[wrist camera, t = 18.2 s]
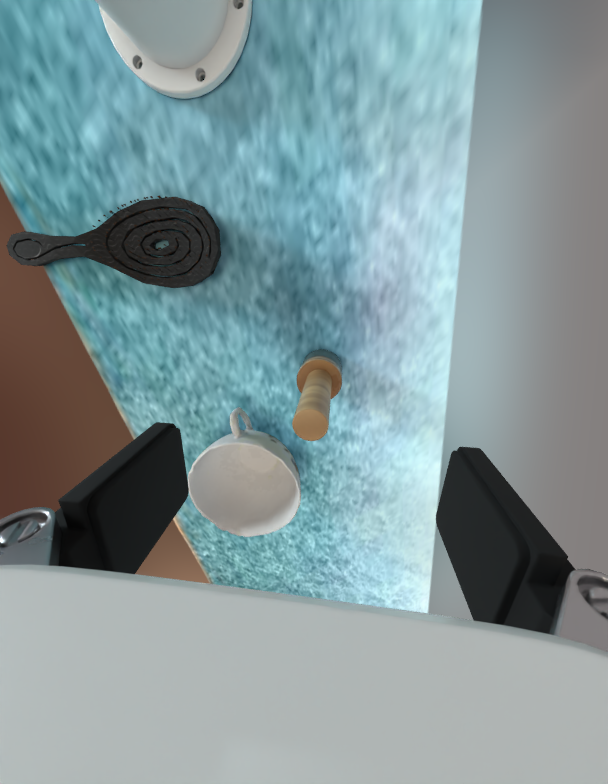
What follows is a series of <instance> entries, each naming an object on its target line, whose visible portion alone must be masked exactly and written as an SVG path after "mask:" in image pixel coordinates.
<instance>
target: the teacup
mask: <svg viewBox="0 0 608 784" xmlns="http://www.w3.org/2000/svg"><path fill="white" fill-rule="evenodd" d="M238 414H240V415H241V417H242V419H243V421H244V423H245V424H246V427H247V428H246V430H240V428H239V423H238V421H239V420H238ZM230 426H231V430H232V434H229V435H226V436H224V437H222V438H220V439H219V440H217V441H216V442H214V443H213V444H211V445H210V446H209V447H208V448H206V449H205V450H204V451H203V452H202V453H201V454H200V455H199V457H198V458H197V459H196V461H195V462H194V463H193V465H192V468H191V470H190V472H189V474H188V486H189V494H190V497H191V499H192V501H193V503H194V505H195V507H196V508H197V509H198V510H199V511H200V512H201V514H202V515H203V516H204V517H205V518H207V519H209V520H210V521H211V522H212V523H214V524H215V525H216V526H217V527H218V528H219V529H221V530H223V531H224V530H227V531H229V532H230V533H231V534H236V535H237V536H244V537H251V536H257V535H264V534H268V533H271V532H274V531H277V530H278V529H280V528H282V527H284V526H285V525H286V524H288V523H289V522H290V521H291V520H292V519H293V518H294V516H295V514H296V513H297V510H298V508H299V506H300V499H301V488H300V477H299V472H298V468H297V465H296V463H295V460H294V458H293V456H292V454H291V453H290V452H289V450H288V449H287V448H286V446H285V445H284V444H282V443H281V442H280V441H279V440H278V439H276V438H275V437H273V436H271V435H269V434H267V433H264V432H259V431H255V430H253V428H252V426H251V422H250V419H249V417H248V415H247V414H246V413H245V412H244V411H243V410H242V408H239V407H238V408H236V409H235V410H234V411H233V412H232V413H231V414H230Z"/></svg>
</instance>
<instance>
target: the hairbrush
mask: <svg viewBox="0 0 608 784" xmlns="http://www.w3.org/2000/svg"><path fill="white" fill-rule="evenodd" d="M158 197H159V198H160V199H151V200H142V201H139V200H138V199H137V200H138V201H139V202H137V203H135V204H133V205H131V206H129V207H127V208H124V209H122V210H121V209H120V211H118V212H117V213H114V214H113V212H112V211H109V212H110V213H111V212H112V214H113V216H112V217H110V218H109V219H108V220H107V221H105V222H104V223H103V224H102V225H100V226H99V227H98V228H97V229H94V230H92V231H89V232H87V233H84V234H81V235H79V236H76V237H69V236H49V235H44V234H39V233H34V232H21V233H17V234H13V235H11V237H10V239H9V241H8V244H7V248H8V251H9V255H10V256H11V257H13V258H14V259H15V260H16V261H18V262H19V263H20V264H21V265H32V266H42V265H46V264H49V263H51V262H54V261H57V260H59V259H64V258H75V257H87V258H89V259H92V260H95V261H97V262H100V263H102V264H105V265H107V266H110V267H112V268H114V269H116V270H118V271H120V272H122V273H124V274H126V275H128V276H130V277H132V278H134V279H136V280H138V281H140V282H143V283H146V284H152V285H158V286H164V287H170V288H180V287H186V286H193V285H196V284H197V283H200V282H202V281H203V280H204V279H206V278H207V277H209V276H211V275H212V274H213V273H214V271H215V268H216V266H217V263H218V261H219V258H220V256H221V248H220V230H219V229H218V227H217V225H216V223H215V222H214V220H213V218H212V217H211V215H210V214H209V213H208V211H207V210H206V209H205V207H203V206H200V205H198V204H196V203H194V202H192V201H189V200H185V199H181V198H178V197H169V198H167V197H165V198H161V197H160V196H158ZM146 198H148V197H146ZM146 198H145V197H144V199H146ZM151 198H153V197H152V196H151ZM134 201H135V200H134ZM130 202H131V203H132V201H130ZM135 202H136V201H135ZM124 205H125V204H124ZM125 206H126V205H125ZM122 207H124V206H123V205H122ZM117 208H118V207H117ZM161 208H165V209H161ZM166 208H167V209H166ZM169 208H181V209H186V210H189V211H191V212H192V213H193V214H194V215H196V216H194V215H192V214H190V213H188V212H185V211H182V210H175V209H173V210H172V209H169ZM118 209H119V208H118ZM155 209H160V210H155ZM149 210H151V211H149ZM104 216H105V215H104ZM176 218H180V219H184V220H186V221H189V222H190V223H191V224H190V223H187V222H183V221H180V220H171V221H170V219H176ZM165 220H169V221H165ZM98 221H100V220H98ZM159 221H162V222H159ZM149 223H151V224H149ZM145 224H148V225H145ZM143 225H145V226H143ZM93 227H95V226H93ZM169 229H172V230H180V231H183V232H184V233H185V234H183V233H180V232H173V231H165V230H169ZM161 231H165V232H161ZM157 232H158V233H157ZM152 234H153V235H152ZM32 239H33V240H36V241H32ZM161 240H168V241H169V246H167V247H165V248H163V249H161V248H158V249H161V250H158V249H155V243H156V242H158V241H161ZM74 244H85V245H86V246H78V245H77V246H76V245H74ZM69 245H71V246H69ZM164 245H165V244H164ZM64 246H67V247H64ZM165 246H166V245H165ZM61 247H63V248H61ZM174 253H175V254H174ZM150 254H152V255H158V256H164V257H159V258H158V257H155V256H151V255H150ZM172 254H174V255H172ZM168 255H171V256H168ZM37 258H38V259H37ZM31 259H34V260H31ZM139 261H140V262H142V263H140V262H139ZM181 261H182V262H181ZM179 262H181V263H179ZM174 263H176V264H175V265H172V266H166V267H158V266H153V265H171V264H174ZM177 263H178V264H177ZM148 264H153V265H148ZM135 269H136V270H135ZM138 270H139V271H138ZM141 271H142V272H141ZM144 272H145V273H144ZM187 272H188V273H187ZM147 273H148V274H147ZM185 273H187V274H186V275H181V274H185ZM150 274H154V275H161V276H175V275H181V276H176V277H157V276H154V275H150Z"/></svg>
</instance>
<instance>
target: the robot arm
mask: <svg viewBox="0 0 608 784" xmlns="http://www.w3.org/2000/svg"><path fill="white" fill-rule="evenodd" d="M95 1H96V2H97V3H98V4H99V8H100V12H101V15H102V18H103V21H104V24H105V27H106V30H107V32H108V34H109V37H110V39H111V41H112V43H113V45H114V47H115V49H116V50H117V52H118V53H119V55H120V56H121V58H122V59H123V60H124V62H125V63H126V64H127V66H128V67H129V68H130V69H131V70H132V71H133V72H134V73H135V74H136V75H137V76H138V77H139V78H140V79H141V80H142V81H143V82H145V83H146V84H147V85H148V86H149V87H151V88H152V89H154V90H156V91H157V92H159V93H161V94H164V95H167V96H170V97H173V98H182V99H189V98H194V97H199V96H202V95H204V94H206V93H208V92H210V91H212V90H213V89H215V88H216V87H217V86H218V85H220V84H221V83H222V82H223V81H224V80H225V79H226V77H227V76H228V75H229V74H230V73H231V71H232V70H233V68H234V67H235V65H236V63H237V61H238V59H239V58H240V56H241V53H242V51H243V48H244V45H245V42H246V39H247V36H248V31H249V26H250V21H251V11H252V0H95ZM241 7H242V8H241ZM240 8H241V9H240ZM204 78H205V79H204ZM203 79H204V80H203ZM202 80H203V81H202ZM188 492H189V488H188V481H187V474H186V467H185V460H184V454H183V447H182V440H181V433H180V430H179V429H178V428H176V426H175V425H174V424H171V423H159V422H158V423H155V424H153V425H152V426H151V427H150V428H148V429H147V430H146V431H145V432H143V433H142V434H141V435H140V436H138V437H137V438H136V439H135V440H133V441H132V442H131V443H130V444H128V445H127V446H126V447H125V448H123V449H122V450H121V451H120V452H118V453H117V454H116V455H114V456H113V457H112V458H111V459H109V460H108V461H107V462H106V463H104V464H103V465H102V466H101V467H99V468H98V469H97V470H96V471H94V472H93V473H92V474H91V475H89V476H88V477H87V478H86V479H84V480H83V481H82V482H81V483H79V484H78V485H77V486H75V487H74V488H73V489H72V490H70V491H69V492H68V493H67V494H65V495H64V496H63V497H62V498H60V499H59V504H60V506H61V508H60V509H59V510H57V511H56V512H54V511H53V510H51V509H50V508H45V507H39V508H38V507H37V508H30V509H26V510H22V511H19V512H17V513H14V514H11V515H9V516H7V517H5V518H3V519H1V520H0V784H608V575H606V574H603V573H601V572H597V571H593V570H590V569H577V570H575V568H574V567H573V566H572V565H571V563H570V562H569V561H568V560H567V558H568V556H567V555H566V553H565V552H564V551H563V550H562V549H561V547H560V546H559V545H558V544H557V542H556V541H555V540H554V539H553V537H552V536H551V535H550V534H549V532H548V531H547V530H546V529H545V528H544V526H543V525H542V524H541V523H540V522H539V520H538V519H537V518H536V516H535V515H534V514H533V513H532V512H531V510H530V509H529V508H528V507H527V505H526V504H525V503H524V502H523V501H522V499H521V498H520V497H519V496H518V494H517V493H516V492H515V491H514V489H513V488H512V487H511V486H510V484H509V483H508V482H507V481H506V480H505V478H504V477H503V476H502V475H501V473H500V472H499V471H498V470H497V468H496V467H495V466H494V465H493V464H492V463H491V461H490V460H489V459H488V457H487V456H486V455H485V454H484V452H483V451H482V450H481V449H479V448H470V447H459V448H458V450H457V451H453V452H452V454H451V457H450V461H449V465H448V469H447V474H446V477H445V481H444V486H443V489H442V494H441V498H440V502H439V506H438V510H437V514H436V523H437V527H438V529H439V532H440V535H441V537H442V540H443V542H444V545H445V547H446V550H447V553H448V555H449V558H450V560H451V563H452V565H453V568H454V571H455V573H456V576H457V578H458V581H459V584H460V586H461V589H462V591H463V594H464V596H465V599H466V601H467V604H468V607H469V609H470V612H471V615H472V617H473V619H474V621H473V620H467V619H460V618H454V617H448V616H441V615H435V614H428V613H420V612H413V611H406V610H399V609H392V608H385V607H377V606H370V605H363V604H356V603H349V602H342V601H334V600H327V599H320V598H312V597H305V596H297V595H290V594H282V593H275V592H268V591H260V590H252V589H245V588H237V587H230V586H222V585H215V584H207V583H198V582H191V581H183V580H175V579H168V578H160V577H152V576H144V575H136V574H135V573H136V571H137V570H138V569H139V567H140V566H141V564H142V562H143V561H144V560H145V558H146V557H147V555H148V554H149V552H150V551H151V549H152V548H153V547H154V545H155V544H156V542H157V541H158V540H159V538H160V537H161V535H162V534H163V532H164V531H165V529H166V528H167V527H168V525H169V523H170V522H171V521H172V519H173V518H174V516H175V515H176V513H177V512H178V511H179V509H180V508H181V506H182V505H183V503H184V502H185V500H186V499H187V496H188Z"/></svg>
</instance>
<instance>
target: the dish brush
mask: <svg viewBox="0 0 608 784" xmlns="http://www.w3.org/2000/svg"><path fill="white" fill-rule="evenodd" d="M341 385H342V366H341V362H340V360H339V358H338V357H337V356H336V355H335V354H334V353H332V352H331V351H328V350H324V349H319V350H315V351H312V352H311V353H309V354H308V355H307V356H306V357H305V359H304V361H303V363H302V365H301V367H300V370H299V372H298V375H297V386H298V389H299V391H300V392H301V397H300V400H299V403H298V406H297V409H296V412H295V415H294V418H293V423H292V425H293V429H294V431H295V433H296V434H297V435H298V436H299V437H300V438H302V439H304V440H308V441H315V440H318V439H320V438H322V437H323V436H324V435H325V434H326V433H327V430H328V425H329V412H330V400H331V399H332V398H334V397H335V396H336V395H337V394H338V392H339V391H340V388H341Z"/></svg>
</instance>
